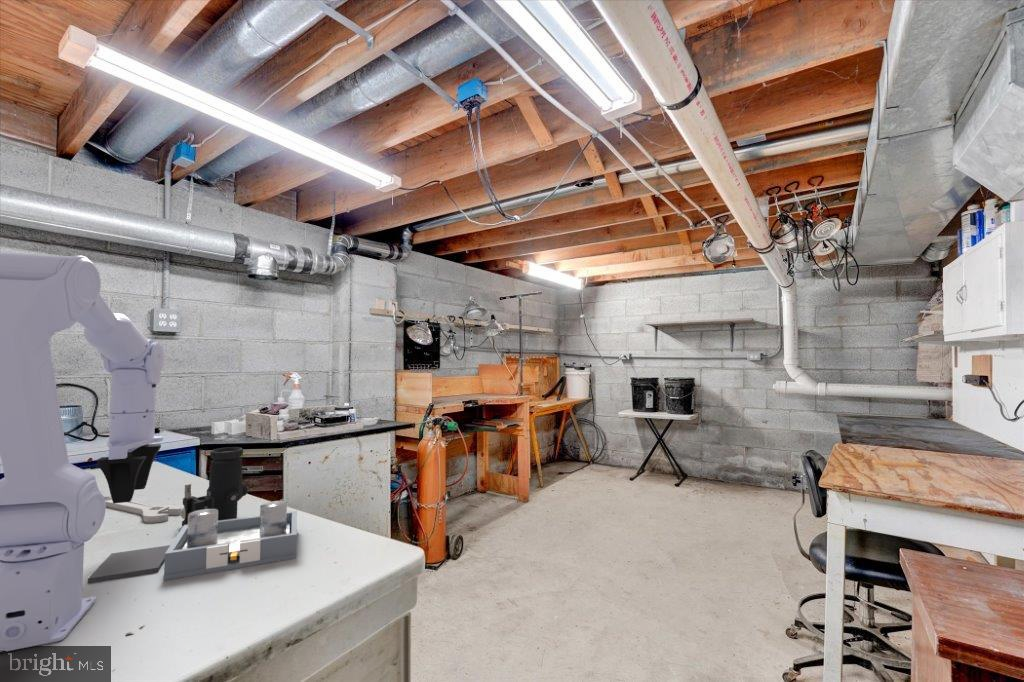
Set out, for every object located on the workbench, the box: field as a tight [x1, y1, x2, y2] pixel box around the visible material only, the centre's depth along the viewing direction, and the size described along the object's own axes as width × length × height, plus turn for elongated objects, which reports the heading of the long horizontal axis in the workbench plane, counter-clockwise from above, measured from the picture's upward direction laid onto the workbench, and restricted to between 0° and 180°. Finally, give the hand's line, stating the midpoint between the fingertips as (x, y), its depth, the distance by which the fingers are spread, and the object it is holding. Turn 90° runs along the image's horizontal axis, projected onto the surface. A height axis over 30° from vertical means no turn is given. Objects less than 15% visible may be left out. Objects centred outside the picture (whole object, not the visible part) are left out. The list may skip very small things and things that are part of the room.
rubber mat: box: [87, 544, 171, 584], centre depth 69 cm, size 9×8×1 cm
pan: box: [183, 522, 290, 561], centre depth 73 cm, size 12×15×1 cm
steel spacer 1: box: [187, 509, 218, 548], centre depth 72 cm, size 4×4×5 cm
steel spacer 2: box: [259, 500, 288, 538], centre depth 76 cm, size 4×4×5 cm
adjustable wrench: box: [104, 495, 182, 524], centre depth 95 cm, size 25×6×2 cm, turn 62°
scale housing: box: [162, 510, 298, 581], centre depth 74 cm, size 13×17×4 cm
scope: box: [180, 446, 249, 528], centre depth 87 cm, size 8×14×10 cm
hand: (129, 495), depth 74 cm, fingers open, 7 cm apart
